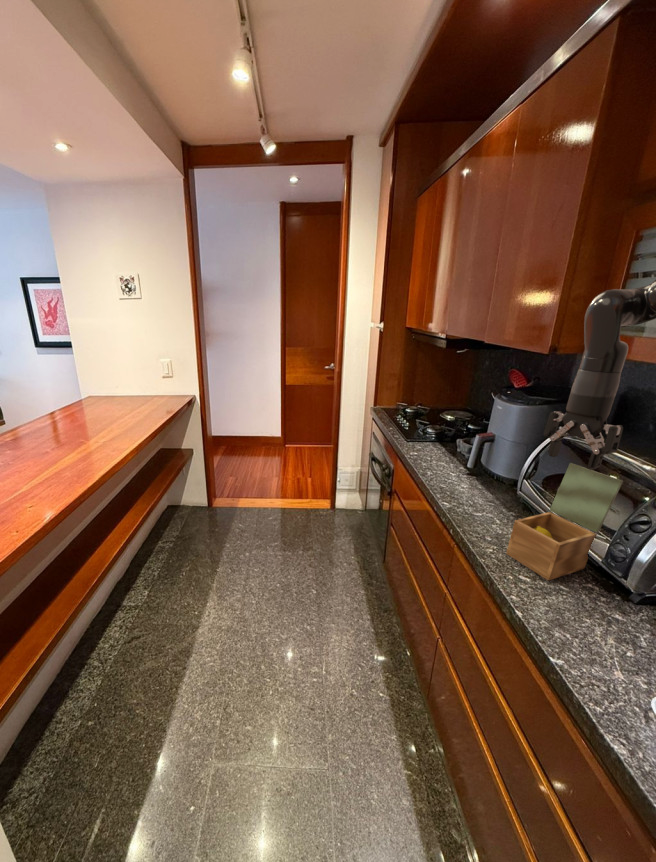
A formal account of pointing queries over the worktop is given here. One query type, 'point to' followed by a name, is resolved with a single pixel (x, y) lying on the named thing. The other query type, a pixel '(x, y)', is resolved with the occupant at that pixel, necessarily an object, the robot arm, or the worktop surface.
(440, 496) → the worktop surface
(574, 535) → the box
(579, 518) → the caddy lid
